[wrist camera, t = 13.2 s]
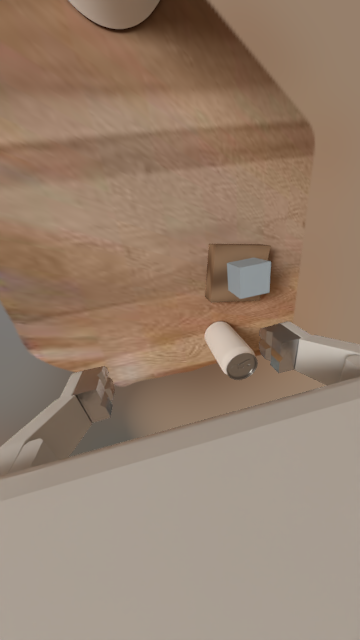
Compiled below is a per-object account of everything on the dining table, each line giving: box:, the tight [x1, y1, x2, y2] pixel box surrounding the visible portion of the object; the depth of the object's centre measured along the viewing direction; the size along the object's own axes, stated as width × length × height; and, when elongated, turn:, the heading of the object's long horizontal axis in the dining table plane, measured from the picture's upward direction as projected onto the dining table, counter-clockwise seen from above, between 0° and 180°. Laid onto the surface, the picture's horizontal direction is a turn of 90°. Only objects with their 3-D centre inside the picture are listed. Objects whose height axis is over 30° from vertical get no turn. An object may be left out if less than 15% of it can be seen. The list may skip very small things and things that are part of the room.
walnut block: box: [205, 244, 271, 302], centre depth 36 cm, size 10×10×4 cm
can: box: [205, 322, 258, 380], centre depth 38 cm, size 6×6×12 cm
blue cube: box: [227, 257, 271, 299], centre depth 32 cm, size 5×5×5 cm
